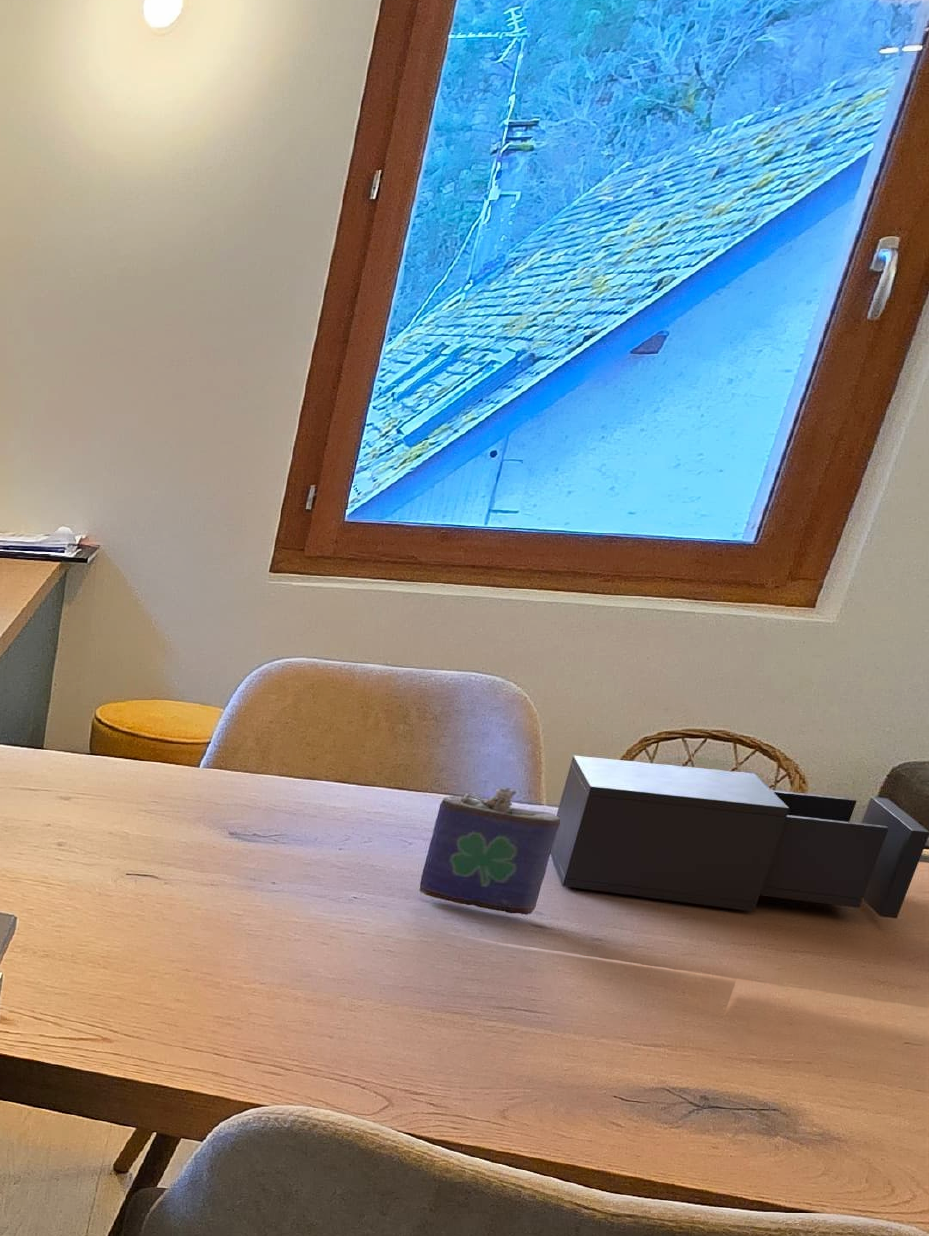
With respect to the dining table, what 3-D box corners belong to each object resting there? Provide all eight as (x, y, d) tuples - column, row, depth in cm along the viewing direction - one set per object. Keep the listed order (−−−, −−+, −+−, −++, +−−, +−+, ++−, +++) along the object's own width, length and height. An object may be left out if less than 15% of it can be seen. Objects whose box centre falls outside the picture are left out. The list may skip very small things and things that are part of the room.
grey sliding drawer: (937, 888, 125) (970, 806, 122) (984, 930, 115) (1020, 842, 112) (682, 857, 133) (707, 779, 130) (706, 893, 123) (734, 810, 120)
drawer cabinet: (723, 870, 132) (755, 773, 128) (754, 911, 122) (790, 808, 118) (547, 848, 138) (573, 755, 134) (562, 886, 128) (590, 786, 124)
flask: (535, 908, 122) (569, 794, 117) (530, 919, 120) (564, 803, 115) (421, 884, 127) (448, 774, 122) (414, 894, 125) (441, 783, 120)
